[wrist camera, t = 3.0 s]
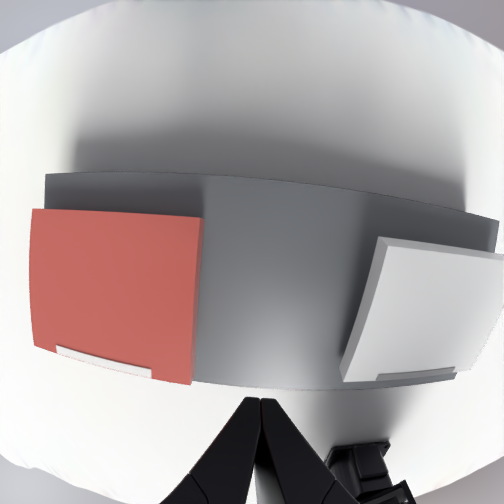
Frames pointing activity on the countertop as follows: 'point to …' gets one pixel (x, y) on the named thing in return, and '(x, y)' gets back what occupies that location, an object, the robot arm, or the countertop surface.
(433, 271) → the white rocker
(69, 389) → the countertop surface
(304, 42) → the countertop surface
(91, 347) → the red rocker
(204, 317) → the switch box
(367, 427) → the countertop surface
